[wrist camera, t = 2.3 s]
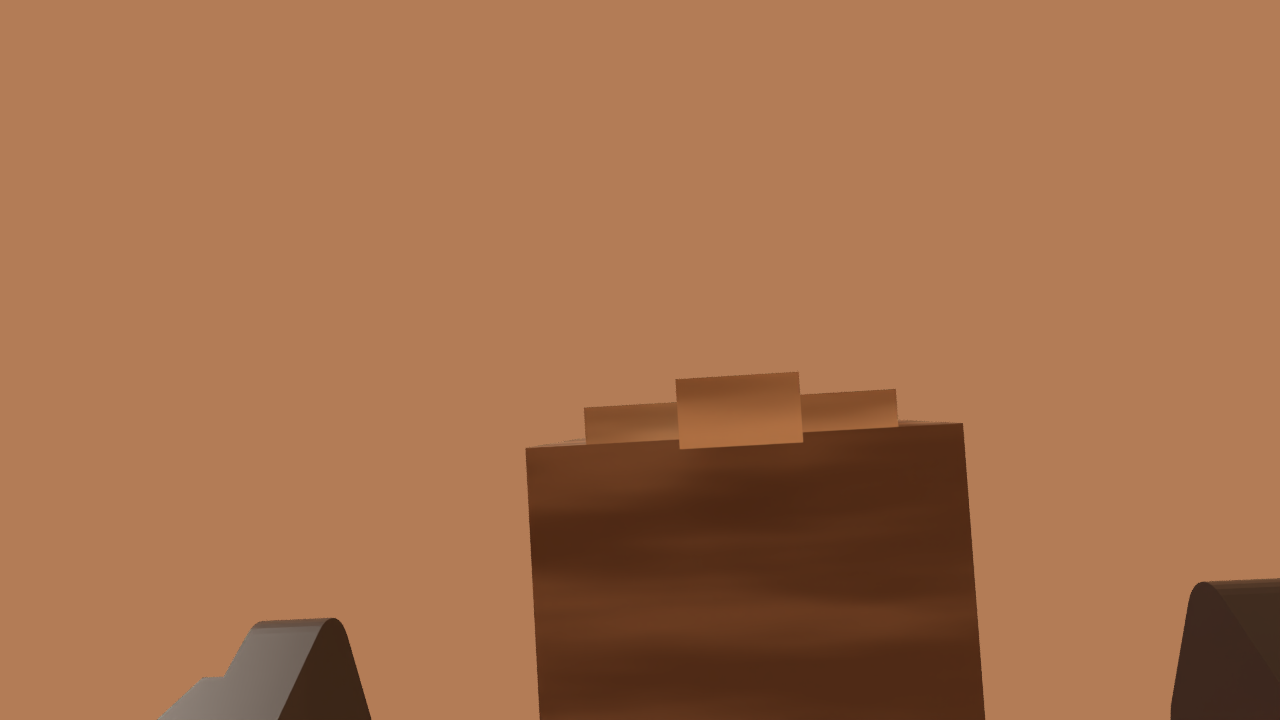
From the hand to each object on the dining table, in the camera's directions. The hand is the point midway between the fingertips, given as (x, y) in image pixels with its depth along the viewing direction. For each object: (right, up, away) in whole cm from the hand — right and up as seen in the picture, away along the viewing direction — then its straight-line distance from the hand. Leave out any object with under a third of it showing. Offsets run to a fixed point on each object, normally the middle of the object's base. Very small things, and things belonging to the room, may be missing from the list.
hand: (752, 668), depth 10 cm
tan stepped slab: (+2, 0, +25) cm, 25 cm away
